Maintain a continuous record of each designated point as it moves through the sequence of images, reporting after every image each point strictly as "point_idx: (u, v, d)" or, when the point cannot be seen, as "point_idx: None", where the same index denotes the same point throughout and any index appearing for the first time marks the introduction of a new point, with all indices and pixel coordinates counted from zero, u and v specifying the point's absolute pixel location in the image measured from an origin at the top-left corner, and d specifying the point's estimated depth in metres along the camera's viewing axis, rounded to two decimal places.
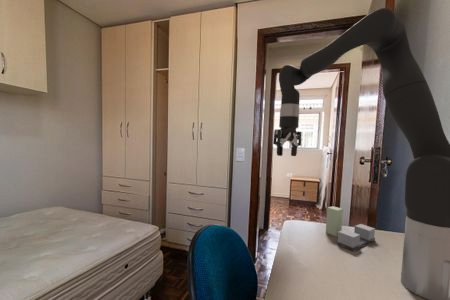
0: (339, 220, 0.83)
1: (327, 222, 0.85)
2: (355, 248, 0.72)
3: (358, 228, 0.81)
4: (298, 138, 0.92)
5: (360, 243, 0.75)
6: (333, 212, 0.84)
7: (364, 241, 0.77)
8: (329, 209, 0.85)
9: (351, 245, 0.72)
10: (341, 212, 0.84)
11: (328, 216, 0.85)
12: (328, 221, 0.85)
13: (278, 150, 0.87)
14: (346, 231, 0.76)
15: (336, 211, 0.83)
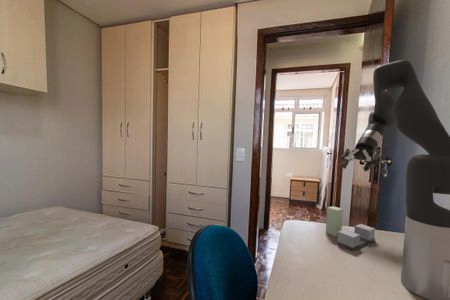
0: (339, 220, 0.83)
1: (327, 222, 0.85)
2: (355, 248, 0.72)
3: (358, 228, 0.81)
4: None
5: (360, 243, 0.75)
6: (333, 212, 0.84)
7: (364, 241, 0.77)
8: (329, 209, 0.85)
9: (351, 245, 0.72)
10: (341, 212, 0.84)
11: (328, 216, 0.85)
12: (328, 221, 0.85)
13: None
14: (346, 231, 0.76)
15: (336, 211, 0.83)
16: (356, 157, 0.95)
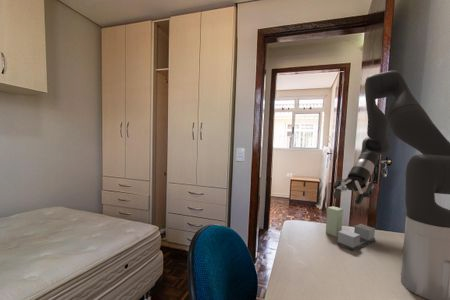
0: (339, 220, 0.83)
1: (327, 222, 0.85)
2: (355, 248, 0.72)
3: (358, 228, 0.81)
4: None
5: (360, 243, 0.75)
6: (333, 212, 0.84)
7: (364, 241, 0.77)
8: (329, 209, 0.85)
9: (351, 245, 0.72)
10: (341, 212, 0.84)
11: (328, 216, 0.85)
12: (328, 221, 0.85)
13: None
14: (346, 231, 0.76)
15: (336, 211, 0.83)
16: (348, 188, 0.92)
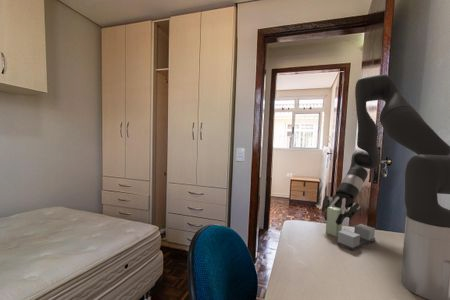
0: None
1: (327, 222, 0.85)
2: (355, 248, 0.72)
3: (358, 228, 0.81)
4: None
5: (360, 243, 0.75)
6: (333, 212, 0.84)
7: (364, 241, 0.77)
8: (329, 209, 0.85)
9: (351, 245, 0.72)
10: None
11: (328, 216, 0.85)
12: (328, 221, 0.85)
13: None
14: (346, 231, 0.76)
15: (336, 211, 0.83)
16: (339, 206, 0.87)
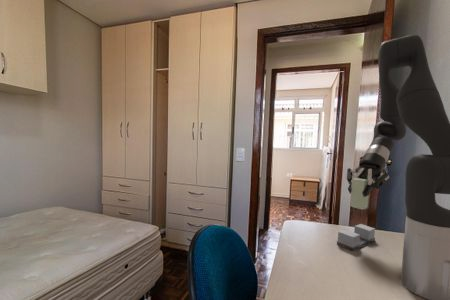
0: None
1: (352, 195, 0.78)
2: (355, 248, 0.72)
3: (358, 228, 0.81)
4: None
5: (360, 243, 0.75)
6: (359, 183, 0.76)
7: (364, 241, 0.77)
8: (354, 180, 0.77)
9: (351, 245, 0.72)
10: None
11: (353, 188, 0.78)
12: (353, 193, 0.78)
13: None
14: (346, 231, 0.76)
15: (363, 181, 0.75)
16: (364, 177, 0.79)
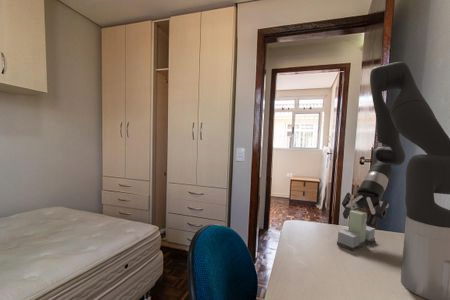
0: (363, 225, 0.76)
1: (349, 227, 0.79)
2: (355, 248, 0.72)
3: None
4: None
5: (360, 243, 0.75)
6: (357, 216, 0.77)
7: (364, 241, 0.77)
8: (352, 213, 0.78)
9: (351, 245, 0.72)
10: (365, 216, 0.77)
11: (351, 220, 0.78)
12: (351, 226, 0.78)
13: None
14: (346, 231, 0.76)
15: (360, 215, 0.76)
16: (360, 205, 0.80)
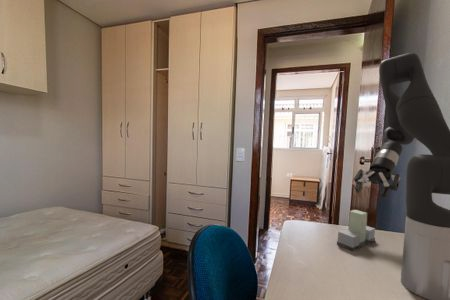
0: (363, 225, 0.76)
1: (349, 227, 0.79)
2: (355, 248, 0.72)
3: None
4: None
5: (360, 243, 0.75)
6: (357, 216, 0.77)
7: (364, 241, 0.77)
8: (352, 213, 0.78)
9: (351, 245, 0.72)
10: (365, 216, 0.77)
11: (351, 220, 0.78)
12: (351, 226, 0.78)
13: None
14: (346, 231, 0.76)
15: (360, 215, 0.76)
16: (371, 180, 0.85)
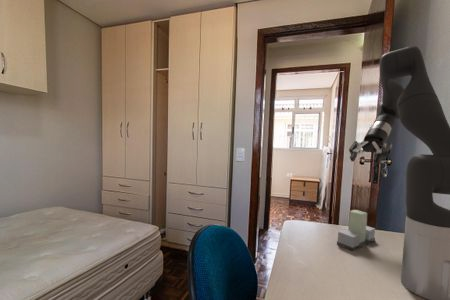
0: (363, 225, 0.76)
1: (349, 227, 0.79)
2: (355, 248, 0.72)
3: None
4: None
5: (360, 243, 0.75)
6: (357, 216, 0.77)
7: (364, 241, 0.77)
8: (352, 213, 0.78)
9: (351, 245, 0.72)
10: (365, 216, 0.77)
11: (351, 220, 0.78)
12: (351, 226, 0.78)
13: None
14: (346, 231, 0.76)
15: (360, 215, 0.76)
16: (365, 149, 0.90)
